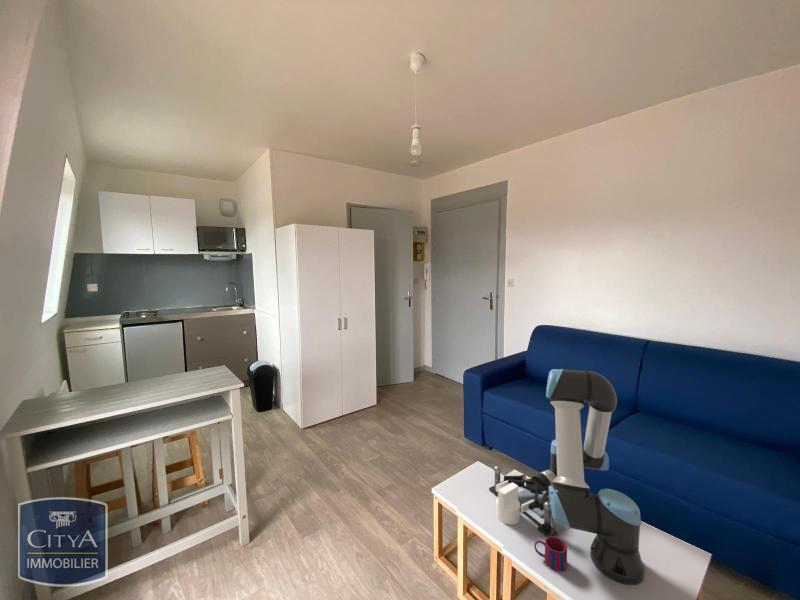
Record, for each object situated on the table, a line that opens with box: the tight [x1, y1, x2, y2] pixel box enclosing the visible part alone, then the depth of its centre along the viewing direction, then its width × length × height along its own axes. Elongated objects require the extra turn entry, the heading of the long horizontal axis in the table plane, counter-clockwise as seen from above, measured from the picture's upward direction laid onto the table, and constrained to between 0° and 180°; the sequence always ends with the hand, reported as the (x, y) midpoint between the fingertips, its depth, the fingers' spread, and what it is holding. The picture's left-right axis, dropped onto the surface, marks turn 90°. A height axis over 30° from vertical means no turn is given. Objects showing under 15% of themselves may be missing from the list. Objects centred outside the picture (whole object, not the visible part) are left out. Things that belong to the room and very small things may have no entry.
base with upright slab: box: [495, 482, 521, 526], centre depth 132 cm, size 9×9×12 cm
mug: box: [534, 536, 568, 572], centre depth 112 cm, size 7×10×7 cm
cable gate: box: [488, 465, 558, 538], centre depth 135 cm, size 31×5×12 cm, turn 28°
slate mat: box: [518, 489, 552, 518], centre depth 140 cm, size 14×12×1 cm
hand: (508, 498), depth 133 cm, fingers open, 13 cm apart
